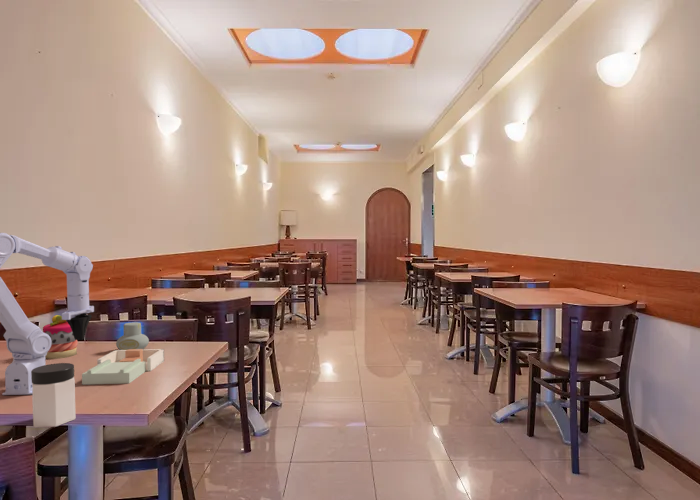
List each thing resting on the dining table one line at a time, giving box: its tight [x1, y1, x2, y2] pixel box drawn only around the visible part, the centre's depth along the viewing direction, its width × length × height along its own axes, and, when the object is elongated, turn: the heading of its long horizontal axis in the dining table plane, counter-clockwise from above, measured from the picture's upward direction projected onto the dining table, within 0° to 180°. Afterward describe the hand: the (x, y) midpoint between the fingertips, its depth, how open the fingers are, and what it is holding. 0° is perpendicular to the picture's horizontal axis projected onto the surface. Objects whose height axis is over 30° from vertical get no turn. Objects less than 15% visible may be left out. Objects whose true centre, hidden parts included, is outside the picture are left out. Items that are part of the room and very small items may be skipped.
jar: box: [31, 362, 76, 429], centre depth 104 cm, size 9×8×12 cm
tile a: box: [119, 357, 140, 362], centre depth 146 cm, size 4×4×2 cm
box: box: [96, 348, 165, 372], centre depth 148 cm, size 12×16×4 cm
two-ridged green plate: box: [81, 359, 147, 386], centre depth 136 cm, size 12×13×4 cm
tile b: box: [125, 349, 144, 362], centre depth 150 cm, size 4×4×2 cm
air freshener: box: [115, 321, 150, 350], centre depth 170 cm, size 11×8×10 cm
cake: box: [42, 314, 79, 360], centre depth 164 cm, size 10×11×15 cm
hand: (79, 339), depth 141 cm, fingers closed
